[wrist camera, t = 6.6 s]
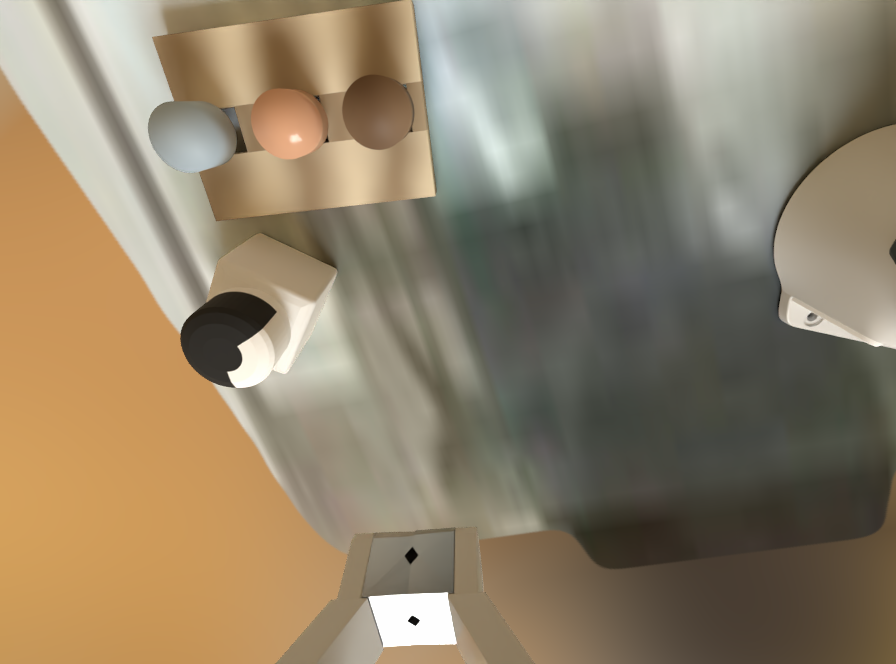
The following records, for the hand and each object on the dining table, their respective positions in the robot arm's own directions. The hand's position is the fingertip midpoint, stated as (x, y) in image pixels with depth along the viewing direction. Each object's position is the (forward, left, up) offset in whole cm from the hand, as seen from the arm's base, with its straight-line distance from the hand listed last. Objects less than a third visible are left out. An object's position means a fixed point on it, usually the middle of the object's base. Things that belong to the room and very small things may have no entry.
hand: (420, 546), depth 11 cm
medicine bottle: (+11, +10, -29) cm, 33 cm away
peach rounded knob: (+12, -3, -28) cm, 31 cm away
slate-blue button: (+18, -1, -27) cm, 32 cm away
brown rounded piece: (+7, -6, -27) cm, 29 cm away
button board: (+12, -3, -29) cm, 32 cm away
